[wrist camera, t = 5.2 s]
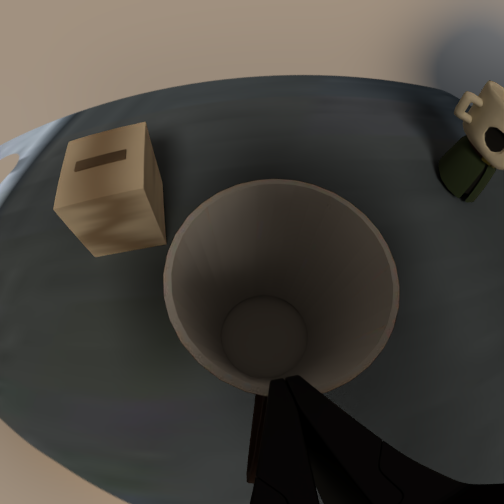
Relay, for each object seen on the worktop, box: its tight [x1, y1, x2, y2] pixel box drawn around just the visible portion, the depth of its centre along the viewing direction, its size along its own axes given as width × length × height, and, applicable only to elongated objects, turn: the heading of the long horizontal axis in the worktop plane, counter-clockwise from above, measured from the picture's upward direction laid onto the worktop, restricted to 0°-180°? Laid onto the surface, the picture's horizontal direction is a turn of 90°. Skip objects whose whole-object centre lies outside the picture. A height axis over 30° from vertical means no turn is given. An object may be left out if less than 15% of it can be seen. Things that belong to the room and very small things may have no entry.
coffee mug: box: [163, 179, 399, 483], centre depth 14 cm, size 12×9×10 cm
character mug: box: [438, 80, 504, 202], centre depth 21 cm, size 11×7×13 cm, turn 73°
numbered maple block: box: [53, 122, 167, 257], centre depth 19 cm, size 6×6×7 cm
